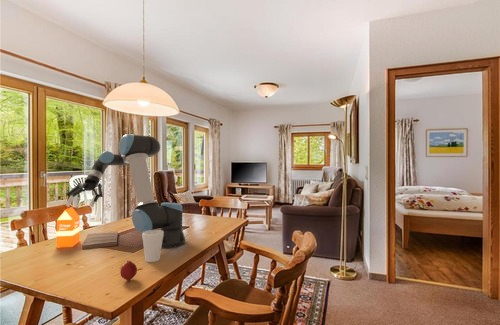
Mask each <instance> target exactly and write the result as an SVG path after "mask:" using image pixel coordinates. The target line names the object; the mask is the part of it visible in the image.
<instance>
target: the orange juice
mask: <svg viewBox="0 0 500 325" xmlns="http://www.w3.org/2000/svg"><path fill="white" fill-rule="evenodd" d="M80 221H81V220H80V215H79V214H78V212H76V210H75V209H74V208H73V206H71V207H68V208H66V209H64V210H63V212H62V213H61V214H60V216H58V218H57V219H56V233H55V234H56V235H55V236H56V243H55V245H56V248H73V247H74V246H75V245H76V244H78V243H79V242H80V229H81V228H80V224H81V223H80Z"/></svg>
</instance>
